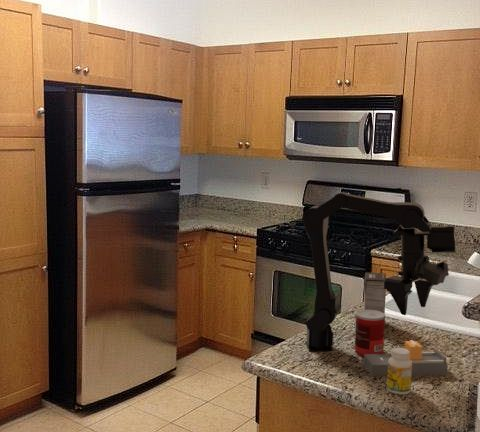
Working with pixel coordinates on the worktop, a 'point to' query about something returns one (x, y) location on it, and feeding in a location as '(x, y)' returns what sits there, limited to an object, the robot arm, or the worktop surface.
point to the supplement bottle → (399, 372)
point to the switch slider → (414, 350)
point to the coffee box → (374, 292)
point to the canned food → (369, 332)
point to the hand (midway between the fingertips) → (413, 310)
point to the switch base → (426, 367)
